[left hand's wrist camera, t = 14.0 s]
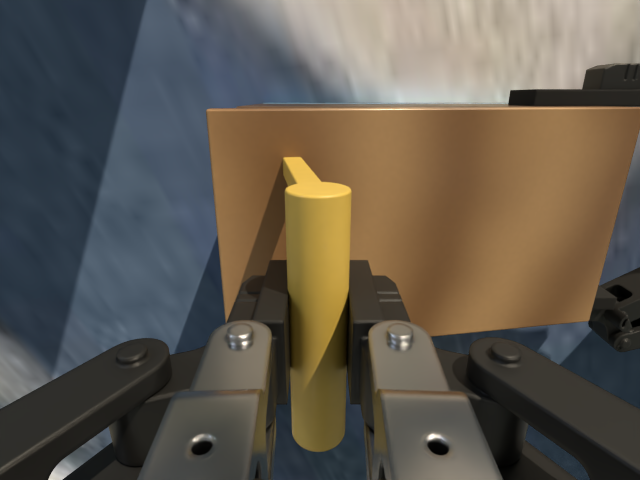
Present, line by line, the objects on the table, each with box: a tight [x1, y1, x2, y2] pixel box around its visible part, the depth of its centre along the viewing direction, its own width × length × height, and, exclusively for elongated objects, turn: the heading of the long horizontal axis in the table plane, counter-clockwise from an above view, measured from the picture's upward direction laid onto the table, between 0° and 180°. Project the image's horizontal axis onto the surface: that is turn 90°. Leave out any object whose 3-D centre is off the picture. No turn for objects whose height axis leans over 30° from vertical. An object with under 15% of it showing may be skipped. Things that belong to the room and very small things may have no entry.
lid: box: [206, 107, 640, 452], centre depth 14 cm, size 18×10×8 cm, turn 90°
